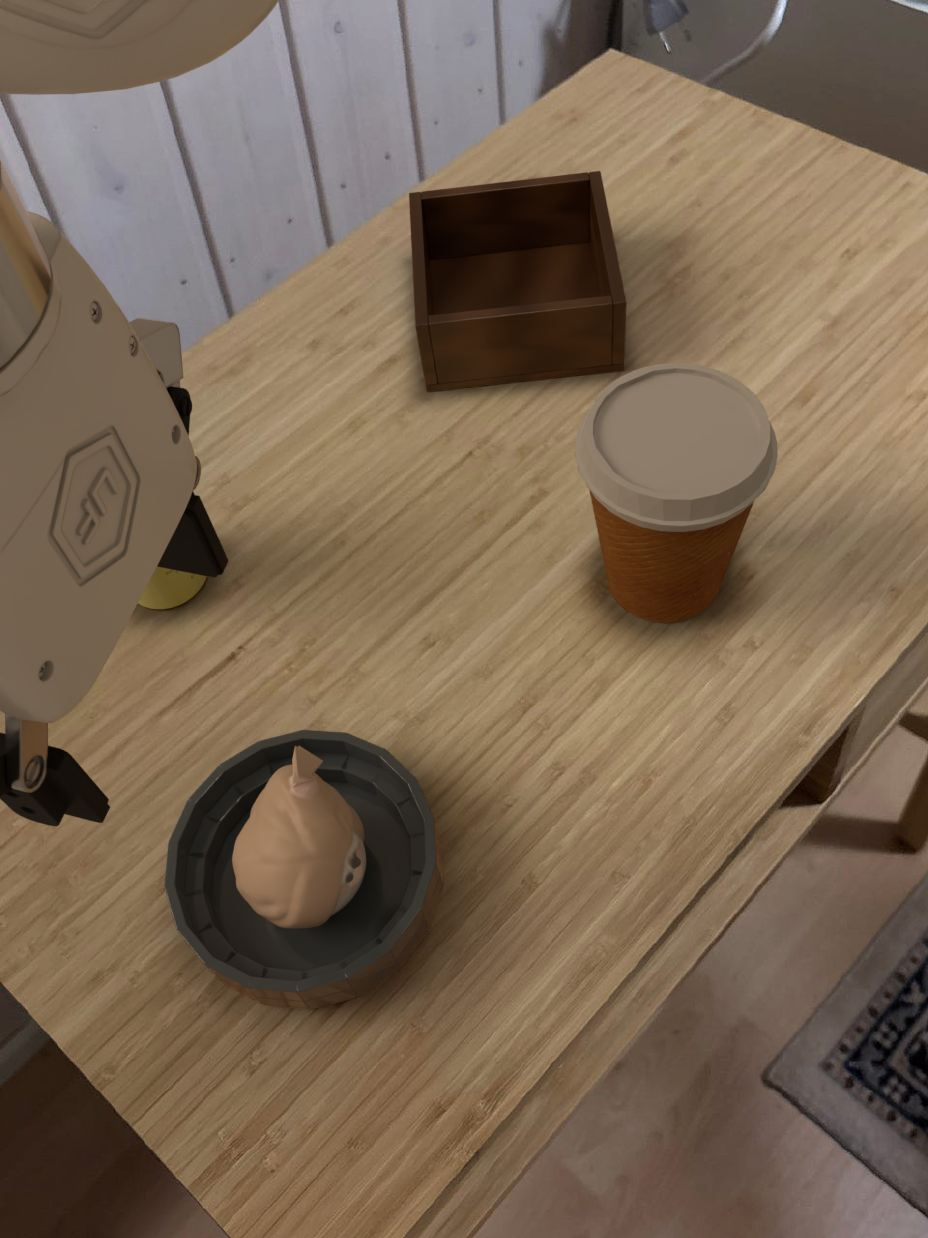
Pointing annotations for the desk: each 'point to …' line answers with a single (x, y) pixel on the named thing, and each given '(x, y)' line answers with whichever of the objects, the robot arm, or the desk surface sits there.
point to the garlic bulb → (299, 848)
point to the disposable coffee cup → (673, 482)
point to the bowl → (351, 938)
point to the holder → (516, 282)
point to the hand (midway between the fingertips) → (131, 677)
